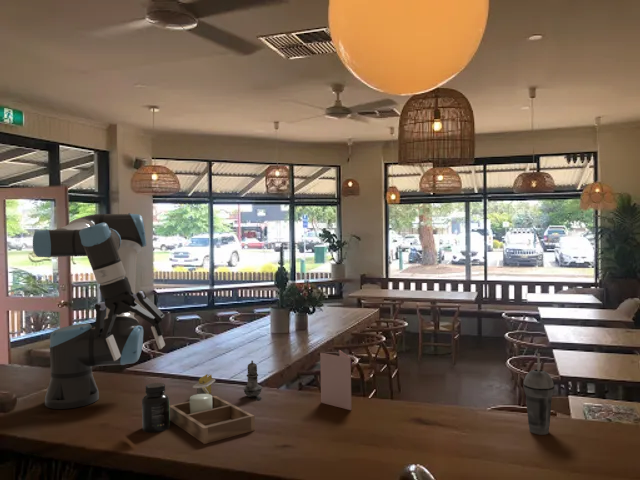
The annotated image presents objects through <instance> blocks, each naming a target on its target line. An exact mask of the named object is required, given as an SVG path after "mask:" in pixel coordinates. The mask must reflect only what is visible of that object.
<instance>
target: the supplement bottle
mask: <svg viewBox="0 0 640 480" xmlns="http://www.w3.org/2000/svg"><path fill="white" fill-rule="evenodd" d="M144 393H145V395H144V396H143V397H142V399H141V416H142V417H141V425H142V431H143V432H145V433H148V434H150V433H151V434H152V433H153V434H154V433H162V432H164V431H167V430H169V429H170V428H171V421H170V408H169V406H170V397H169V395H168V394H167V393H166V384H165V383H164V382H153V383H152V382H151V383H148V384H146V385H145V392H144Z"/></svg>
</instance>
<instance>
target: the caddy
mask: <svg viewBox="0 0 640 480" xmlns="http://www.w3.org/2000/svg"><path fill="white" fill-rule="evenodd" d="M212 407H213V409H209V410H205V411H201V412H196V413H192V414H190V400H189V401H183V402H181V403H175V404H171V405H170V404H169V408H170V422H171V423H173V424H174V425H176V426H177V427H179V428H180V429H182V430H183V431H184V432H186V433H187V434H189V435H191V436H192V437H193V438H194V439H196V440H198V441H199V442H201V443H202V444H203V445H206V444H210V443H213V442H216V441H220V440H224V439H228V438H232V437H235V436H238V435H243V434H246V433H250V432H253V431H255V430H256V424H255V422H256V419H255V418H256V415H254V414H252V413H251V412H248V411H246V410H244V409H242V408H241V407H239V406H236V405H235V404H233V403H231V402H229V401H226V400H225V399H223V398H221V397H219V396H217V395H212Z"/></svg>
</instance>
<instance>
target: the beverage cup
mask: <svg viewBox="0 0 640 480" xmlns="http://www.w3.org/2000/svg"><path fill="white" fill-rule="evenodd" d="M540 356H541V353H539V352H537V369H532V370H529V372H527V374H526V375H525V377H524V380H523V390H524V393H525V394H524V395H525V399H526V400H525V403H526V412H527V421H528V422H527V423H528V424H527V425H528V428H529V432H530V433H532V434H535V435H540V436H543V435H548V434H549V432H550V424H551V413H552V412H551V411H552V402H553V400H552V399H553V395H554V389H555V385H554V381H553V378H552V377H551V375H550V374H549V372H547V371H546V370H543V369H541V357H540Z"/></svg>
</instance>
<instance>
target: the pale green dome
mask: <svg viewBox="0 0 640 480" xmlns="http://www.w3.org/2000/svg"><path fill="white" fill-rule="evenodd" d="M212 396H213V395H212V394H211V393H210V394H197V393H196V394H193V395H191V396H190V397H189V401H190V414H192V413H196V412H201V411H205V410H209V409H213V407H212Z"/></svg>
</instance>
